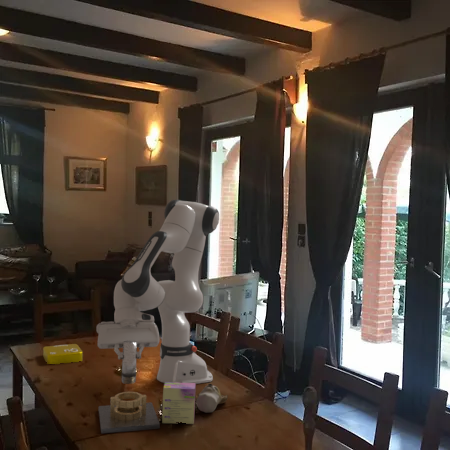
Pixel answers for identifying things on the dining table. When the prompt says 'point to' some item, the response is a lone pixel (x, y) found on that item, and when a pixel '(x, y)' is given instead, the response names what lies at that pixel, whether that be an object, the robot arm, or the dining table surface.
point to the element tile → (62, 354)
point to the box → (178, 403)
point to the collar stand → (128, 414)
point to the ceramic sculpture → (210, 399)
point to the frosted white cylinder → (129, 362)
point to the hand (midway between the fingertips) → (129, 358)
